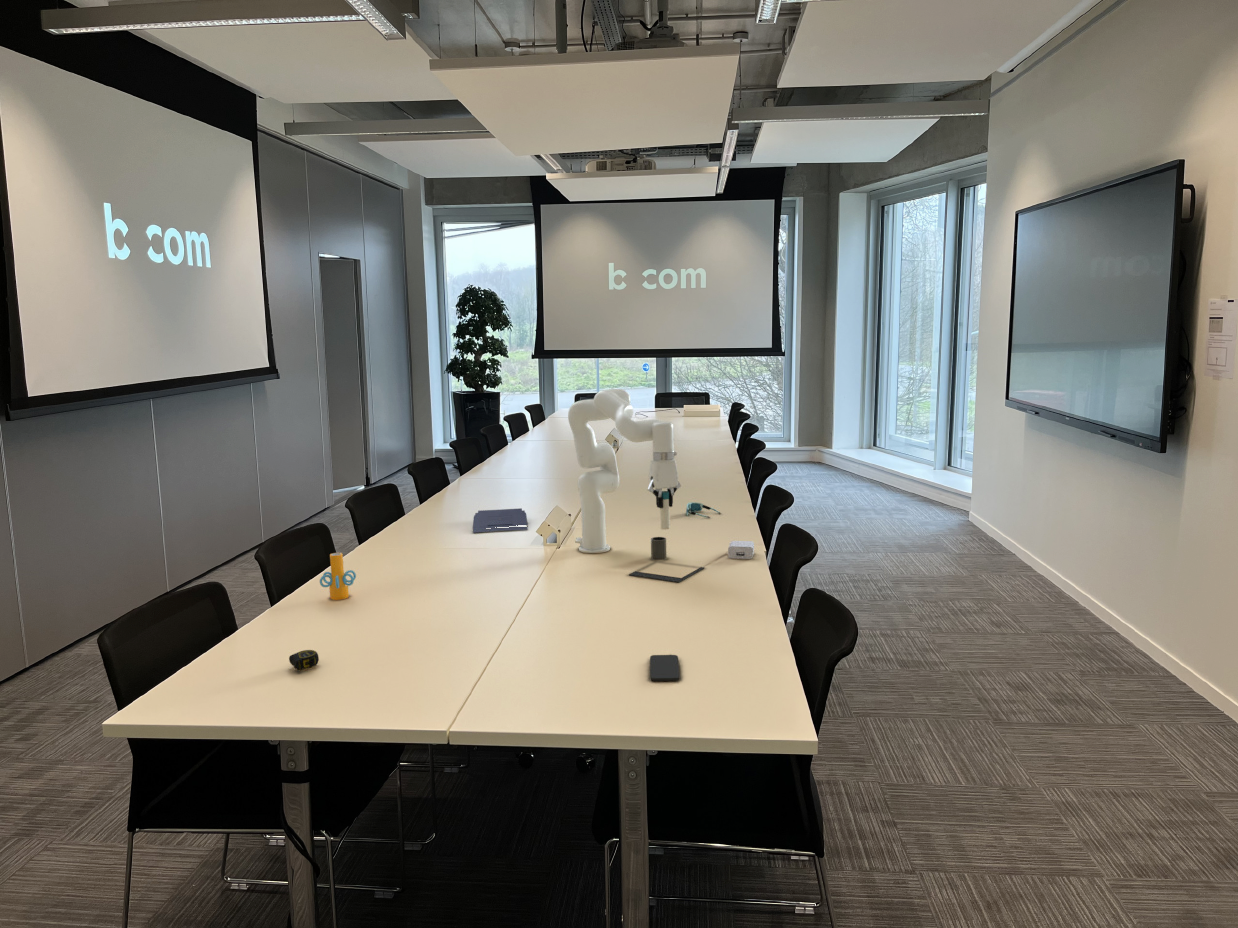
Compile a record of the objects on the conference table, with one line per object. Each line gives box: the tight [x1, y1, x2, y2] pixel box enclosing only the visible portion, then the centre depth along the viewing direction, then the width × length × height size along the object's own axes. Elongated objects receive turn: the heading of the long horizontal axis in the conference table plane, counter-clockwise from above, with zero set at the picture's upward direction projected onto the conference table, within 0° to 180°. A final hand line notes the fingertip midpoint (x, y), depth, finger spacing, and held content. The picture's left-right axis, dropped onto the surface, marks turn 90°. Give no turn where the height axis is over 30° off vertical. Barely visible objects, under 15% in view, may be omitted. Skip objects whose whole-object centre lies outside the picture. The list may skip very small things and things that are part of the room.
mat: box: [628, 566, 705, 584], centre depth 306 cm, size 20×20×1 cm
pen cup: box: [650, 536, 668, 561], centre depth 323 cm, size 6×6×8 cm
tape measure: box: [288, 649, 320, 672], centre depth 226 cm, size 7×7×4 cm
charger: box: [727, 540, 755, 560], centre depth 328 cm, size 5×9×15 cm
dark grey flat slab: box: [472, 507, 529, 534], centre depth 389 cm, size 24×30×4 cm
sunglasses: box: [685, 501, 722, 519], centre depth 399 cm, size 14×15×5 cm
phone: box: [649, 654, 681, 682], centre depth 218 cm, size 7×1×15 cm
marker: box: [659, 490, 671, 530], centre depth 305 cm, size 3×3×14 cm
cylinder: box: [319, 552, 357, 601], centre depth 285 cm, size 12×10×15 cm
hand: (664, 506), depth 305 cm, fingers closed on marker, 3 cm apart
